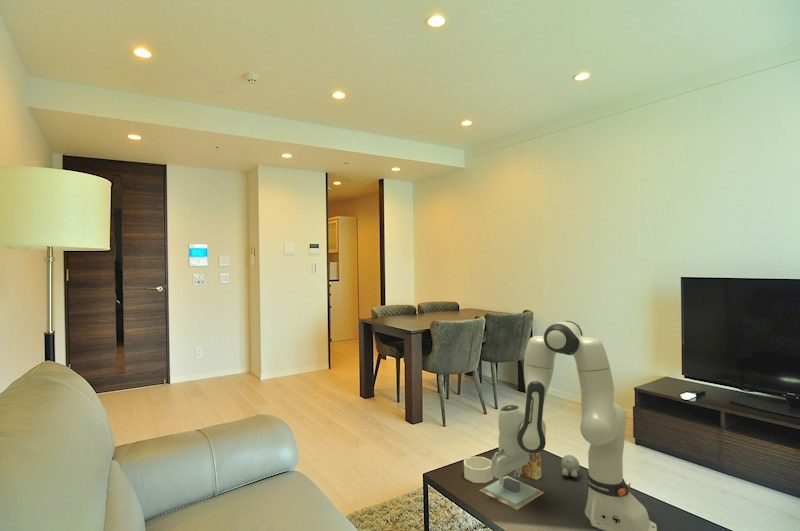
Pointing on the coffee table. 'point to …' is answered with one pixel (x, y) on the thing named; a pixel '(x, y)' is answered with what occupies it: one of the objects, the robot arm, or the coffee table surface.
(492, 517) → the coffee table surface
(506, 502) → the tan square mat
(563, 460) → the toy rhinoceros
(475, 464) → the bowl
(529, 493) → the lid
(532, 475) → the candy box
